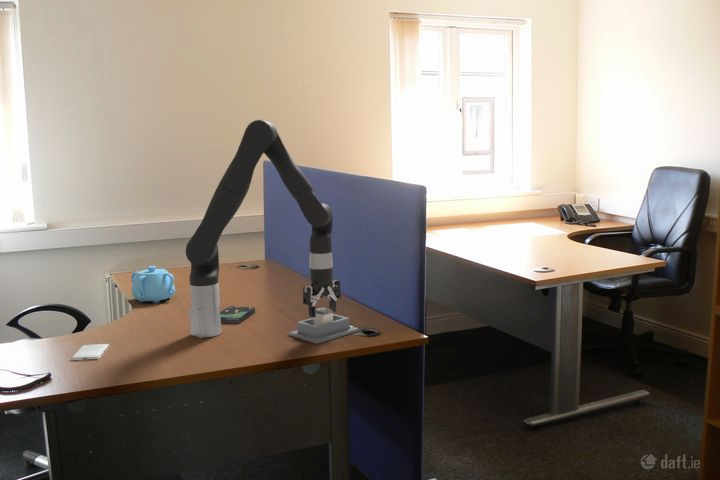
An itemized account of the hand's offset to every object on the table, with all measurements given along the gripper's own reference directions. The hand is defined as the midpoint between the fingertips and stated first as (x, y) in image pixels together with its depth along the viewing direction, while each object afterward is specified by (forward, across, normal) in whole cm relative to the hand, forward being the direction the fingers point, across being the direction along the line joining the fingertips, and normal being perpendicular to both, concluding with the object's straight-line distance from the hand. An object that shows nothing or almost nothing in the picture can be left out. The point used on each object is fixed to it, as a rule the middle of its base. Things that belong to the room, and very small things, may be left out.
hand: (322, 314), depth 244 cm
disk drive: (+7, +8, -39) cm, 41 cm away
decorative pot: (+7, +14, -87) cm, 88 cm away
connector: (+5, 0, 0) cm, 5 cm away
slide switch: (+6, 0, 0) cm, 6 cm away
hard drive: (+8, +62, -38) cm, 73 cm away
